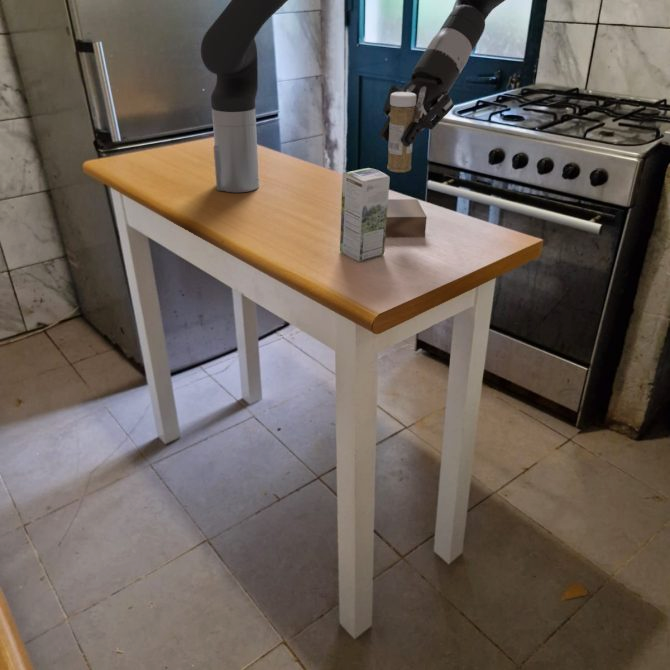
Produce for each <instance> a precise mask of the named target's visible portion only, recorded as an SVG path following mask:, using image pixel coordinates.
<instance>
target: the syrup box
mask: <svg viewBox="0 0 670 670" xmlns="http://www.w3.org/2000/svg"><path fill="white" fill-rule="evenodd" d="M341 180H342V181H341V182H342V185H341V205H340V206H341V210H340V211H341V212H340V237H339V238H340V240H339V245H340V246H339V252H340V253H341V254H343V255H345V256H347V257H349V258H350V259H351V258H352V259H353V260H355V261H357V262H359V263H360V262H364V261H365V262H366V261H368V260H371V259H374V258H378V257H381V256H384V254H385V245H386V237H385V233H386V220H387V208H388V199H389V193H390V191H389V190H390V180H391V179H390V176H389V175H387V174H386V173H385V172H382V171H380V170H379V169H375V168H370V167H367V168H361V169H356V170H352V171H347V172H346V171H345V172H343V173H342V179H341Z"/></svg>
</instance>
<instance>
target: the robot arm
mask: <svg viewBox="0 0 670 670" xmlns="http://www.w3.org/2000/svg"><path fill="white" fill-rule="evenodd" d="M288 1H289V0H231V1H230V2H229V3H228V4H227V6H226V7H225V8H224V10H222V12H221V13H220V15H219V16H218V17H217V19H216V20H215V21H214V22H213V23H212V25H211V26H210V27H209V28H208V30H207V31H206V32H205V34H204V36H203V38H202V41H201V43H200V45H201V46H200V57H201V59H202V60H201V61H202V63H203V65H204V67H205V68H206V70H208V71H209V72H211V73H212V74H214V75H216V82H215V83H216V84H215V86H214V89H213V91H212V92H211V95H210V97H211V98H210V101H211V115H212V116H211V117H212V126H213V127H212V128H213V138H214V140H213V142H214V146H213V158H214V161H213V162H214V169H215V170H214V173H215V184H216V191H222V192H227V193H245V192H246V193H247V192H252V191H255V190H257V189H258V188H259V187H260V183H259V179H260V178H259V161H258V159H259V158H258V139H257V138H258V136H257V133H258V132H257V117H256V113H257V111H256V97H257V94H258V87H259V85H258V84H259V82H258V81H259V79H258V77H259V75H258V74H259V71H258V48H257V43H256V39H255V38H256V36H257V34H259V31H260V30H261V28H263V26H264V25H265V24H266V22H268V20H269V19H270V18H271V17H272V16H273V15H274V14H275V13H276V12H277V11H278V10H279V9H281V8H282V7H283V6H284V5H285V4H286V3H287V2H288ZM505 1H506V0H455V3H454V4H453V7H452V11H451V12H450V13H449V15H448V16H447V18H446V19H445V21H444V22H443V24H442V26H441V27H440V29H439V31H438V32H437V33H436V34H435V36H434V37H433V38H432V39H431V41H430V42H429V44H428V46H427V47H426V49H425V51H424V52H423V53H422V55H421V57H420V58H419V61H418V62H416V63H417V64H416V65H415V67H414V68H413V70H412V73H411V79H410V81H408V83H406V84H405V85H404V87H397V85H396V84H393V85H391V86H390V88H389V91H388V94H387V97H386V101H385V103H384V106H383V109H382V112H383V113H384V115H385V116H386V118H387V120H385V122H384V124H383V126H382V127H381V129H380V134H379V135H380V137H381V139H382V140H383V141H384V142H389V125H390V113H391V107H390V106H391V105H390V96H391V94H392V93H394V92H410V93H414V94H416V105H415V108H414V119H413V123H412V122H411V123H410V124H409V126H408V128H407V129H406V131H405V132H404V134H403V136H402V137H401V142H402V143H403V145H404V146H406V147H409V146H410V144H412V145H413V143H414V142H415V140H416V139H417V137H418V135H419V133H420V132H421V131H422V132H423V130H425V129H428V130H433V129H434V128H435V127H436V126H437V125H438V124H439V122H441V121H442V120H443V119H444V118H445V116H446V115H448V114H449V113H450V112H451V110H453V108H454V107H455V106H454V105H455V104H454V102H453V100H452V99H451V97H450V95H449V92H450V91H451V89H452V87H453V86H454V84H455V83H456V81H457V79H458V77H459V76H460V75H461V73H462V71H463V69H464V68H465V66H466V65H467V62H468V60H469V58H470V55H471V54H472V53H473V50H474V49H475V47H476V46H477V44H478V42H479V40H480V39H481V38H482V36H483V33H484V31H485V28H486V20H487V18H488V17H489V15H490V14H491V13H492V11H493V10H494V9H496V8H497V7H498V6H499V5H501V4H502V3H503V2H505Z"/></svg>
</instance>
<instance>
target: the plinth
mask: <svg viewBox="0 0 670 670" xmlns="http://www.w3.org/2000/svg"><path fill="white" fill-rule="evenodd" d="M427 218H428V217H427V215H426V212H425V211H424V209H423V208H422V205H421V204H420V202H419V200H418V199H417V198H416V199H415V198H414V199H413V198H412V199H409V198H408V199H407V198H405V199H400V198H398V199H396V198H395V199H394V198H393V199H391V198H388V208H387V220H386V233H385V238H426V227H427Z"/></svg>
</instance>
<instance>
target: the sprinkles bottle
mask: <svg viewBox="0 0 670 670" xmlns="http://www.w3.org/2000/svg"><path fill="white" fill-rule="evenodd" d="M390 105H391V106H390V107H391V113H390V125H389V141H388V147H387V148H388V156H387V161H388V162H387V166H386V168H387V170H388V171H390V172H393V173H407V172H409V171H411V170H412V152H413V143H412V144H410V146H409V147H406V146H404V145H403V143H402V142H401V137H402V136H403V134H404V132H405V131H406V129H407V128H408V126H409V124H410V123H411V122H412V123H413V119H414V116H415V112H414V108H415V105H416V94H414V93H410V92H394V93H392V94H391V96H390Z"/></svg>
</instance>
